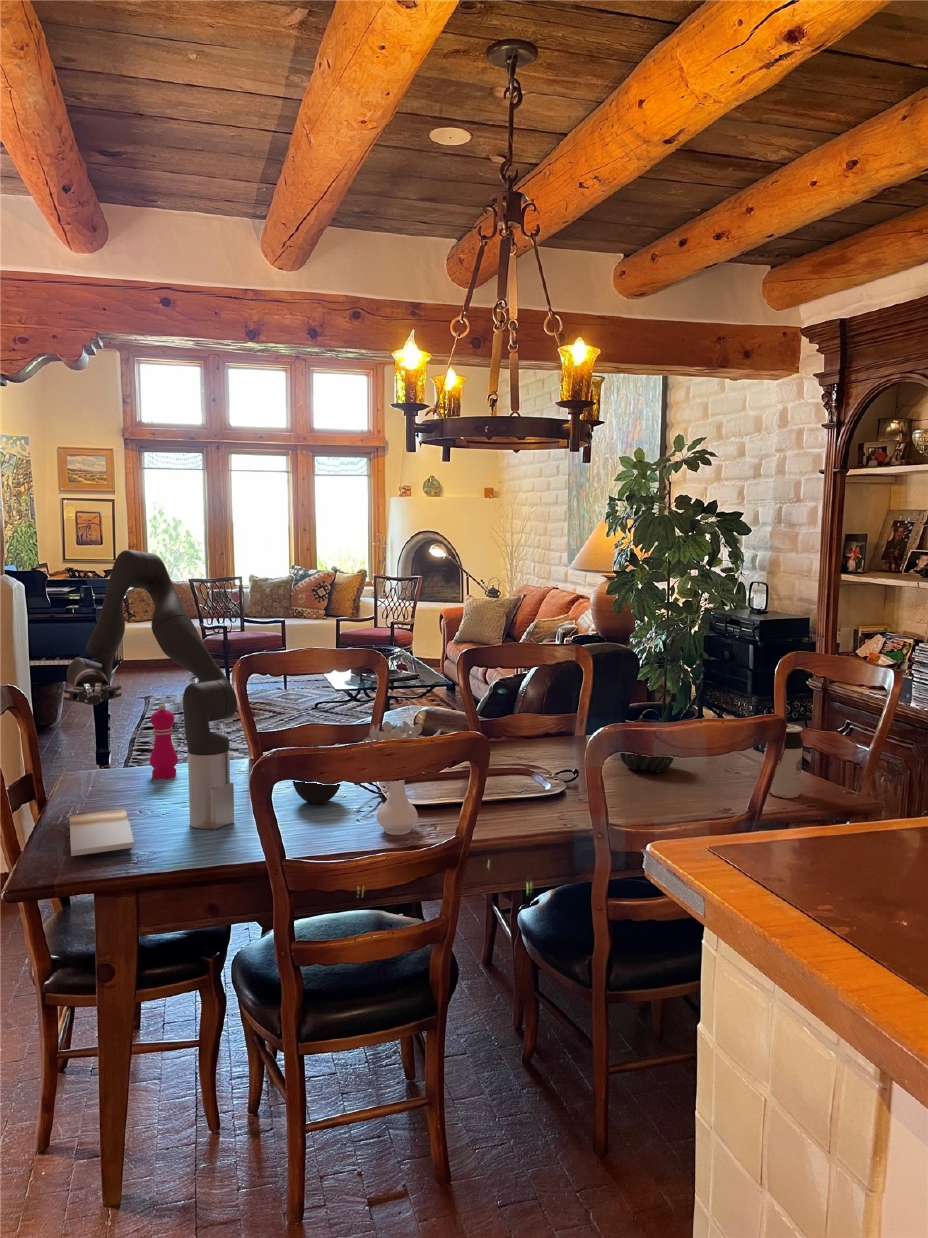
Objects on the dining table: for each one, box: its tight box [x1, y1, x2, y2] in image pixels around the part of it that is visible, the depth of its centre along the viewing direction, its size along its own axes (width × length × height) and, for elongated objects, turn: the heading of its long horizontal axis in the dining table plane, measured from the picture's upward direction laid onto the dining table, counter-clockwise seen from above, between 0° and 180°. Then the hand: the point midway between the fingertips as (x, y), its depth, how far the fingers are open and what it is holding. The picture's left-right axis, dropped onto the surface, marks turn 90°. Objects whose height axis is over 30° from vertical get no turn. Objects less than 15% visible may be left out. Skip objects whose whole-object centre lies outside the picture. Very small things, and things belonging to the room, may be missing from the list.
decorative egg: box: [292, 743, 342, 805], centre depth 217 cm, size 12×12×15 cm
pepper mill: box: [149, 703, 179, 780], centre depth 238 cm, size 7×7×20 cm
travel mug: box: [771, 723, 804, 796], centre depth 228 cm, size 8×8×18 cm
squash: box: [619, 721, 675, 772], centre depth 250 cm, size 14×15×15 cm
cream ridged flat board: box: [69, 808, 129, 829], centre depth 195 cm, size 20×12×2 cm, turn 25°
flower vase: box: [360, 720, 442, 836], centre depth 199 cm, size 13×18×25 cm
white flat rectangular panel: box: [69, 820, 135, 857], centre depth 186 cm, size 1×12×14 cm
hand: (94, 700), depth 194 cm, fingers closed
